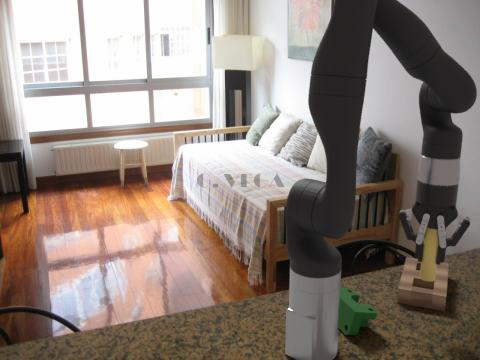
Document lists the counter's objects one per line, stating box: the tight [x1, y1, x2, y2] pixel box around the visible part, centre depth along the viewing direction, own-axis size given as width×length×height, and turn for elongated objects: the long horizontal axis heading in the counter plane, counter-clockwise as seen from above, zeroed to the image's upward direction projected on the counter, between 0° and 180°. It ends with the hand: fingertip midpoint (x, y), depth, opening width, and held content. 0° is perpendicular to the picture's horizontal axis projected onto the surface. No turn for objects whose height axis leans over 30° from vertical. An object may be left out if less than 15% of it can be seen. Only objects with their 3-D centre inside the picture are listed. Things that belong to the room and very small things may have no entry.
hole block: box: [396, 257, 450, 312], centre depth 122 cm, size 18×10×4 cm, turn 157°
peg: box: [420, 228, 440, 281], centre depth 104 cm, size 3×3×11 cm
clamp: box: [338, 287, 379, 336], centre depth 108 cm, size 12×6×9 cm, turn 13°
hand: (429, 261), depth 104 cm, fingers closed on peg, 3 cm apart
